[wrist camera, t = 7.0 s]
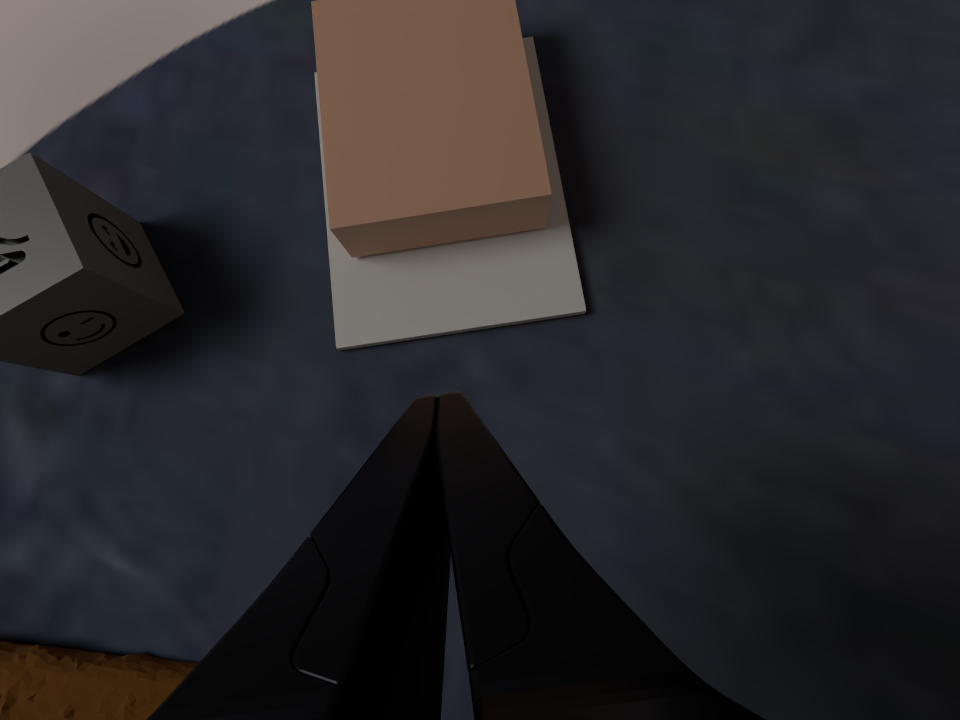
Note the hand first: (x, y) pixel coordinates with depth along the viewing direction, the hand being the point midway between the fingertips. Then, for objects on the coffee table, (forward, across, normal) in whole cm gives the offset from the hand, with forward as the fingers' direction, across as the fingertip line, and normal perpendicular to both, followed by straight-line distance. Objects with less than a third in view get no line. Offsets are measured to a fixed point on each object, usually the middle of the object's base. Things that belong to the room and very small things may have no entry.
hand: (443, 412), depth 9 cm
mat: (+14, 0, -1) cm, 15 cm away
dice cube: (+13, +15, +1) cm, 20 cm away
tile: (+11, 0, 0) cm, 11 cm away
